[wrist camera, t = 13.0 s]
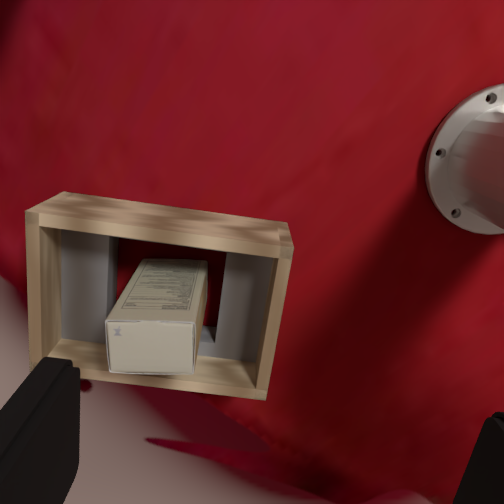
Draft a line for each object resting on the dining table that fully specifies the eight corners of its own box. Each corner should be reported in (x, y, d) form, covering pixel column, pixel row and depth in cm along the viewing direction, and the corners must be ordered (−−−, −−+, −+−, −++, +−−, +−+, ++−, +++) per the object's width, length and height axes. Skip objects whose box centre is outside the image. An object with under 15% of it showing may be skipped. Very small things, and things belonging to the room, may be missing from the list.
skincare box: (143, 298, 42) (103, 374, 31) (142, 256, 41) (98, 319, 29) (210, 301, 42) (195, 378, 31) (211, 259, 41) (195, 323, 29)
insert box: (287, 222, 40) (294, 247, 33) (263, 355, 44) (265, 400, 38) (63, 191, 39) (25, 211, 32) (63, 330, 43) (29, 372, 37)
